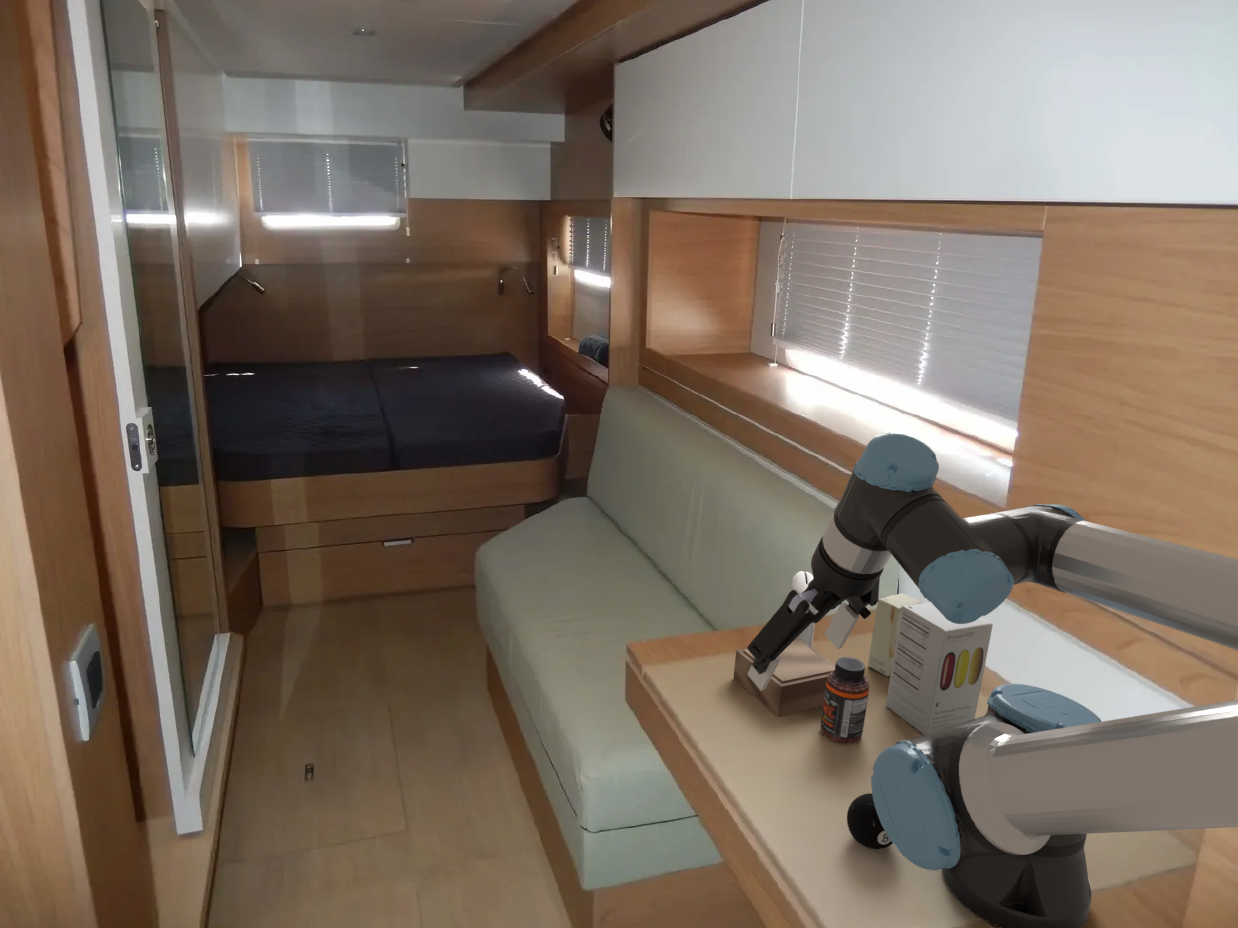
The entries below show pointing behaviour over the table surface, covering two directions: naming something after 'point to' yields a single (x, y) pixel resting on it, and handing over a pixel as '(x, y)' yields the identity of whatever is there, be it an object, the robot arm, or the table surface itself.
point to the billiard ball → (866, 823)
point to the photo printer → (800, 585)
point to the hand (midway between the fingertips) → (795, 660)
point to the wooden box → (788, 679)
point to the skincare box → (887, 631)
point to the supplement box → (937, 668)
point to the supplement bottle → (845, 701)
